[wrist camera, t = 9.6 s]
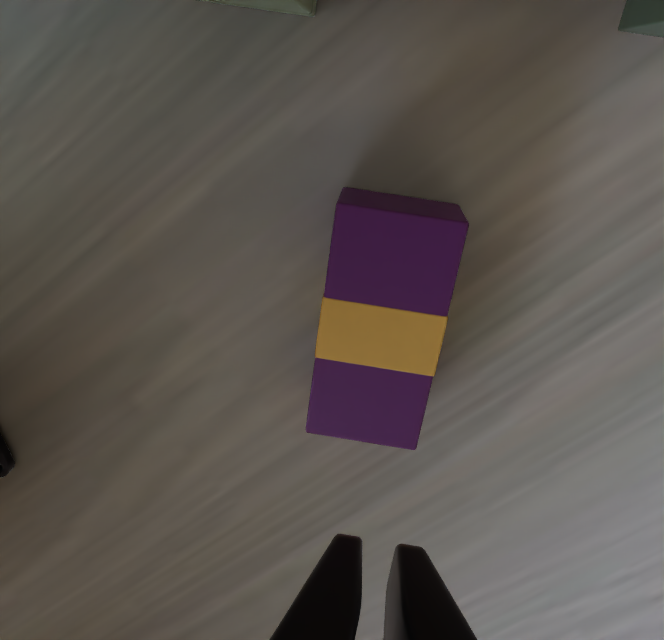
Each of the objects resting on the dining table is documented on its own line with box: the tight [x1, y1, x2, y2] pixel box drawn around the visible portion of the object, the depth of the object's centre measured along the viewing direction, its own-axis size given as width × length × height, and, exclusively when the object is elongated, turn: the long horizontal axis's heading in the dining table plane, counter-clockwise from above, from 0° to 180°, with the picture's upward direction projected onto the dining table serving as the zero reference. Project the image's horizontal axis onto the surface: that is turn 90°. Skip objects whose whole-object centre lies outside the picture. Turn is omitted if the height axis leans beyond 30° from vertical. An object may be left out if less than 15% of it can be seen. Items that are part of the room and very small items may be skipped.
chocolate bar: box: [306, 187, 469, 450], centre depth 18 cm, size 8×4×2 cm, turn 173°
